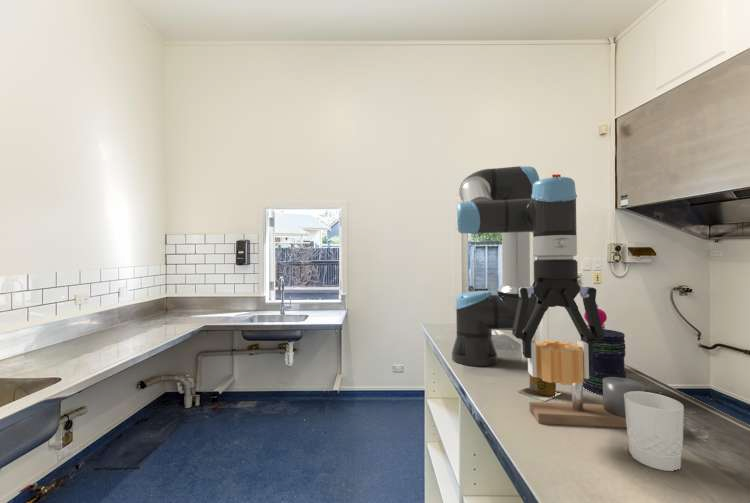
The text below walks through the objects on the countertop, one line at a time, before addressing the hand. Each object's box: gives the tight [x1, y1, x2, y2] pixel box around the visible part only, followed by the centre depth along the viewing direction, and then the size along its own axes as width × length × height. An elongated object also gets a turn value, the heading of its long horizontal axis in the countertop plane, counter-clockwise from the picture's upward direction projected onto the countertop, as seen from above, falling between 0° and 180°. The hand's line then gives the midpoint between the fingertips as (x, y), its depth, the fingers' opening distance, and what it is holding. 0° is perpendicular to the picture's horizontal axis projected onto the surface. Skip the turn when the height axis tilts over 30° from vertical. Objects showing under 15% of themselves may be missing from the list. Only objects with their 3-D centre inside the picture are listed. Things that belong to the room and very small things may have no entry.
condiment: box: [517, 373, 558, 402], centre depth 87 cm, size 7×8×12 cm
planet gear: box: [533, 339, 583, 386], centre depth 65 cm, size 9×9×6 cm
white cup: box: [624, 391, 685, 472], centre depth 57 cm, size 8×8×10 cm
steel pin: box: [571, 382, 584, 411], centre depth 72 cm, size 2×2×8 cm
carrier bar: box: [528, 401, 627, 429], centre depth 72 cm, size 6×22×2 cm, turn 82°
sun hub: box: [602, 377, 645, 418], centre depth 71 cm, size 7×7×6 cm
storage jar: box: [580, 328, 627, 397], centre depth 88 cm, size 10×10×15 cm
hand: (557, 375), depth 65 cm, fingers closed on planet gear, 9 cm apart
